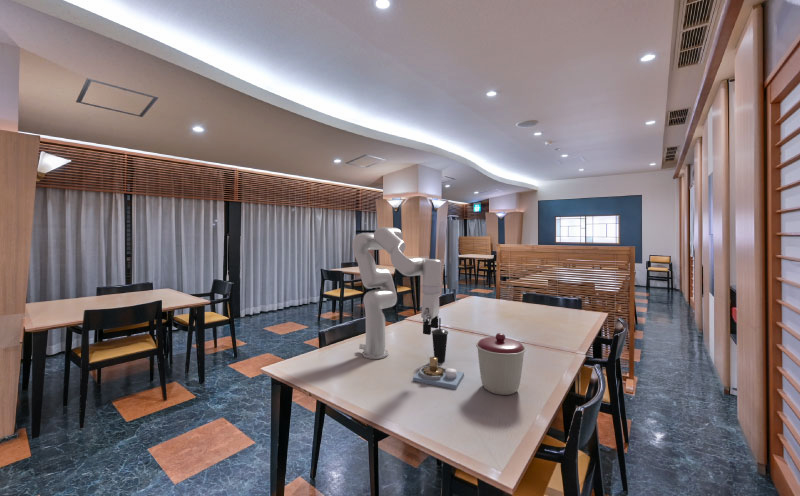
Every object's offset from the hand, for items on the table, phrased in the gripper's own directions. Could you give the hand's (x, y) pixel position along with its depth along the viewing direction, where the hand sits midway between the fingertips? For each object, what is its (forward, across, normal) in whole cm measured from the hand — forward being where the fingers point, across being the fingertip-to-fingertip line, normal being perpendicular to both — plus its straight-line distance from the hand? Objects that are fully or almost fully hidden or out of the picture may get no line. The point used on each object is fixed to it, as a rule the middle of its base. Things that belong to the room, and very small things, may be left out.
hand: (430, 330), depth 133 cm
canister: (+18, 0, +28) cm, 33 cm away
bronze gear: (+17, +1, +2) cm, 17 cm away
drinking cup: (+19, -18, -1) cm, 26 cm away
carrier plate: (+19, +1, +4) cm, 19 cm away
